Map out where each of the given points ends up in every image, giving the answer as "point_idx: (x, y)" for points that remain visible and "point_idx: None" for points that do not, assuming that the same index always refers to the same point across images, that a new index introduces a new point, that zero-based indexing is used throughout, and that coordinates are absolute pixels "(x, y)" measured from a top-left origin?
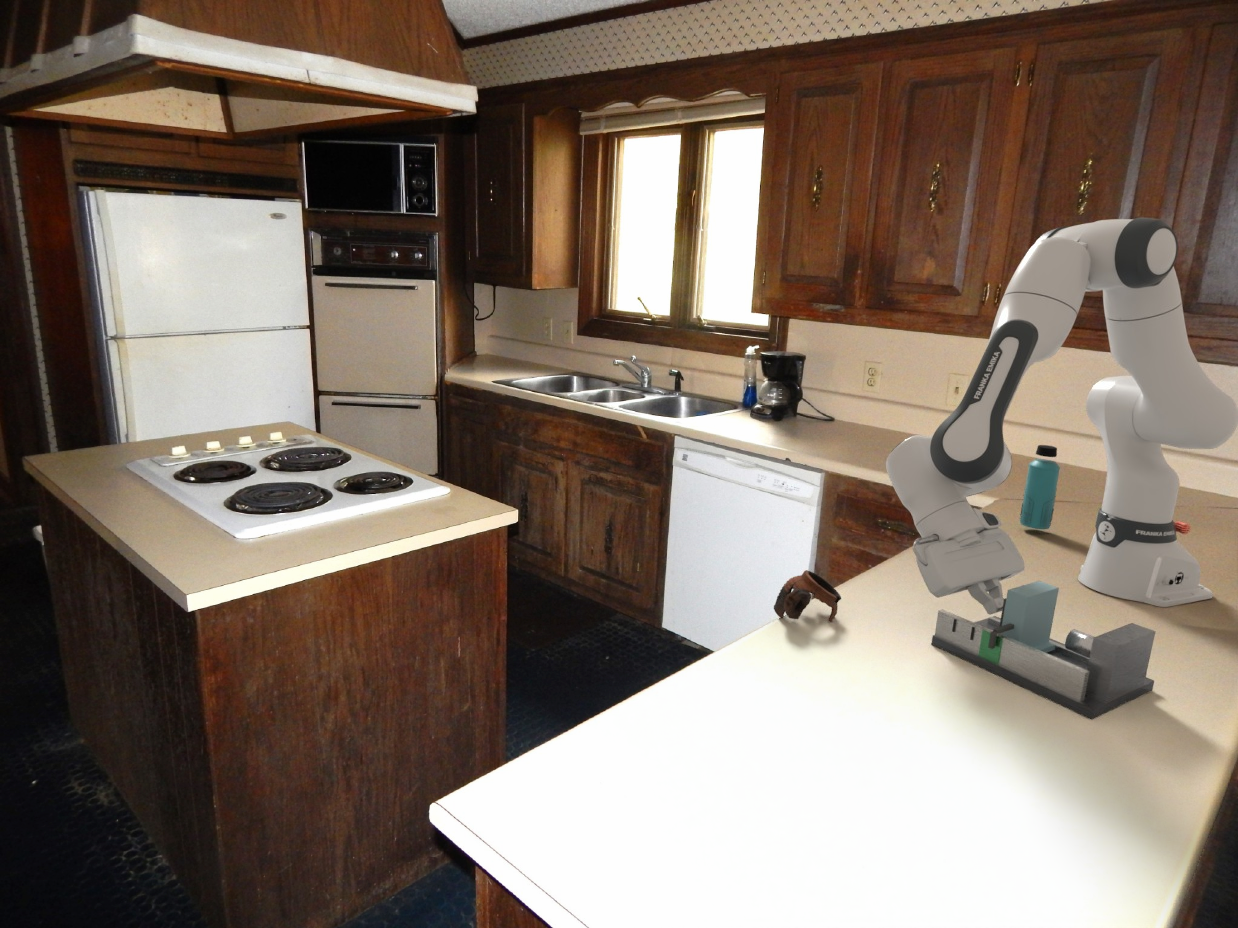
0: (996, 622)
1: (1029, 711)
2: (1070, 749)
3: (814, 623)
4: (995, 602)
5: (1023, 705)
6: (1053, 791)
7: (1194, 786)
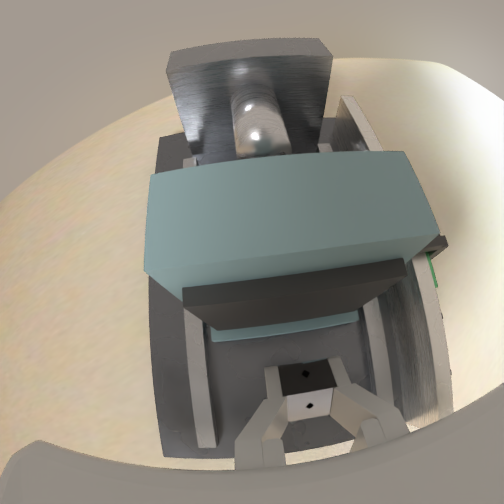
0: (213, 423)
1: None
2: (407, 117)
3: None
4: (330, 377)
5: None
6: (451, 107)
7: (333, 64)
